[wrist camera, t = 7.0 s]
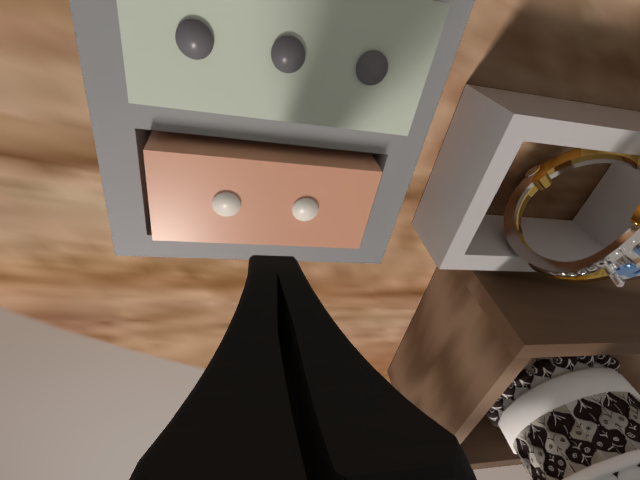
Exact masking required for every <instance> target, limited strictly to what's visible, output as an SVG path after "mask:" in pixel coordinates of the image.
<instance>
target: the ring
mask: <svg viewBox="0 0 640 480" xmlns="http://www.w3.org/2000/svg"><path fill="white" fill-rule="evenodd" d="M597 163H614V164H621V165H626V166H629V167H632V168H634V169H637V170H638V171H640V155H631V154H623V153H615V152H607V151H599V150H591V149H583V148H577V149H574V150H571V151H568V152H566V153H563V154H561V155H559V156H557V157H555V158H553V159H551V160H549V161H547V162H546V163H544V164H542V165H541V166H539V165H537V166H534V167H532V168H531V169H530V170H528V171H527V173H526V174H525V176H526V178H525V179H524V180H523V181H522V182H521V183H520V184H519V185H518V186H517V188H516V189H515V190H514V192H513V193H512V195H511V197H510V199H509V201H508V203H507V206H506V209H505V213H504V231H505V235H506V238H507V241H508V243H509V245H510V246H511V248H512V249H513V250H514V252H515V253H516V254H517V255H518V256H519V257H520V258H521V259H522V260H523V261H524V262H525V263H526V264H527V265H528V266H529V267H530V268H532V269H533V270H534V271H536V272H538V273H539V274H541V275H543V276H546V277H548V278H551V279H554V280H558V281H563V282H572V283H586V282H595V281H601V280H606V279H610V278H611V280H612V281H613V282H614V284H615V285H616V286H617V287H622V286H624V283H625V282H624V280H632V279H637V278H640V202H639V204H638V207H637V208H636V210H635V212H634V214H633V216H632V217H631V219H630V222H633V223H635V224H636V225H633V226H632V227H631V228H629V229H628V230H627V231H626V232H625V233H624V234H623V235H621V236H620V237H619V238H618V239H616V240H615V241H614V242H613V243H611V244H610V245H608V246H607V247H605V248H604V249H602V250H601V251H599V252H597V253H595V254H593V255H591V256H589V257H587V258H584V259H581V260H578V261H572V262H560V261H555V260H551V259H548V258H545V257H543V256H540V255H539V254H537V253H536V252H534V251H533V250H532V249H531V248H530V247H529V246H528V244H527V243H526V241H525V239H524V236H523V233H522V227H521V221H522V215H523V212H524V209H525V207H526V205H527V203H528V202H529V200H530V199H531V197H532V196H533V195H534V194H535V193H536V192H537V191H538V190H539V191H541V190H544V189H546V188H547V187H549V186H550V185H551V184H552V182H553V180H552V179H553V178H554V177H556V176H558V175H560V174H562V173H564V172H566V171H568V170H571V169H574V168H577V167H580V166H584V165H589V164H597Z"/></svg>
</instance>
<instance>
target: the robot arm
mask: <svg viewBox="0 0 640 480" xmlns="http://www.w3.org/2000/svg"><path fill="white" fill-rule="evenodd" d="M129 480H477V479H476V477H475V474H474V472H473V470H472V467H471V465H470V463H469V461H468V458H467V456H466V454H465V452H464V451H463V449H462V447H461V445H460V444H459V442H458V440H457V438H456V436H455V435H453V434H452V433H451V432H449V431H448V430H447V429H445V428H444V427H442V426H441V425H440V424H438V423H437V422H436V421H434V420H433V419H432V418H430V417H429V416H428V415H426V414H425V413H424V412H422V411H421V410H420V409H419V408H417V407H416V406H415V405H414V404H413V403H411V402H410V401H409V400H408V399H407V398H406V397H404V396H403V395H402V394H401V393H400V392H399V391H398V390H396V389H395V388H394V387H393V386H392V385H391V384H390V383H389V382H388V381H387V380H386V379H385V378H384V377H383V376H382V375H381V374H380V373H378V372H377V371H376V370H375V369H374V368H373V367H372V366H371V364H370V363H369V362H368V361H367V360H366V359H365V358H364V357H363V356H362V355H361V354H360V353H359V351H358V350H357V349H356V348H355V347H354V346H353V345H352V343H351V342H350V341H349V340H348V339H347V337H346V336H345V335H344V334H343V332H342V331H341V330H340V329H339V327H338V326H337V325H336V323H335V322H334V321H333V319H332V318H331V316H330V315H329V314H328V312H327V311H326V309H325V308H324V306H323V305H322V303H321V302H320V300H319V299H318V297H317V296H316V294H315V292H314V291H313V289H312V288H311V286H310V284H309V282H308V281H307V279H306V277H305V275H304V274H303V272H302V270H301V268H300V266H299V264H298V262H297V260H296V259H295V258H294V256H268V255H253V256H251V257H250V258H249V267H248V276H247V280H246V283H245V287H244V290H243V293H242V295H241V298H240V301H239V304H238V307H237V309H236V311H235V314H234V316H233V318H232V320H231V323H230V325H229V327H228V329H227V331H226V333H225V335H224V337H223V339H222V341H221V343H220V345H219V347H218V349H217V351H216V352H215V354H214V356H213V358H212V359H211V361H210V363H209V364H208V366H207V368H206V369H205V371H204V373H203V374H202V376H201V378H200V379H199V381H198V382H197V384H196V386H195V387H194V389H193V390H192V391H191V393H190V394H189V396H188V397H187V399H186V400H185V401H184V403H183V404H182V406H181V407H180V408H179V410H178V411H177V413H176V414H175V416H174V417H173V419H172V420H171V421H170V422H169V424H168V425H167V426H166V428H165V429H164V430H163V432H162V433H161V434H160V435H159V436H158V438H157V439H156V440H155V442H154V443H153V444H152V445H151V447H150V448H149V449H148V450H147V452H146V453H145V454H144V455H143V457H142V458H141V459H140V460H139V462H138V463H137V465H136V467H135V469H134V471H133V473H132V475H131V477H130V479H129Z"/></svg>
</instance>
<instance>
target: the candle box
mask: <svg viewBox="0 0 640 480" xmlns="http://www.w3.org/2000/svg"><path fill="white" fill-rule="evenodd" d="M624 282H625V283H624V286H622V287H617V286H616V285H615V284H614V282H613V281H612V280H611V278H610V279H606V280H601V281H595V282H586V283H572V282H563V281H558V280H554V279H551V278H548V277H546V276H543V275H541V274H539V273H538V272H522V271H487V270H451V269H439V268H438V267H437V268H436V271H435V273H434V275H433V277H432V279H431V281H430V283H429V285H428V287H427V289H426V292H425V294H424V296H423V298H422V300H421V302H420V304H419V306H418V308H417V310H416V313H415V315H414V317H413V319H412V321H411V323H410V325H409V327H408V329H407V331H406V333H405V336H404V338H403V340H402V342H401V344H400V346H399V348H398V350H397V352H396V354H395V357H394V359H393V361H392V363H391V365H390V367H389V369H388V371H387V372H388V375H389V378H390V381H391V384H392V386H393V387H394V388H395V389H396V390H398V391H399V392H400V393H401V394H402V395H403V396H404V397H406V398H407V399H408V400H409V401H410V402H411V403H413V404H414V405H415V406H416V407H417V408H419V409H420V410H421V411H422V412H424V413H425V414H426V415H428V416H429V417H430V418H432V419H433V420H434V421H436V422H437V423H438V424H440V425H441V426H442V427H444V428H445V429H447V430H448V431H449V432H451V433H452V434H453V435H455V436H456V438H457V440H458V442H459V444H460V445H461V447H462V449H463V451H464V452H465V454H466V456H467V458H468V461H469V463H470V465H471V467H472V470H473V469H483V468H492V467H501V466H510V465H518V464H522V462H521V461H520V459H519V457H518V455H517V454H514V453H513V451H512V449H511V448H510V446H509V444H508V442H507V440H506V438H505V436H504V434H503V433H502V431H501V429H500V427H499V426H494V425H493V424H492V423H491V422H490V418H488V417H487V415H486V413H487V412H488V410H489V409H490V408H491V407H492V406H493V404H494V403H495V402H496V401H497V400H498V398H499V397H500V396H501V395H502V394H503V392H504V391H505V390H506V389H507V388H508V386H509V385H510V384H511V383H512V381H513V380H514V379H515V378H516V377H517V375H518V374H519V373H520V372H521V371H522V369H523V368H524V367H525V366H526V365H527V363H528V362H529V361H530V360H531V359H532V358H538V357H566V356H595V355H611V357H614V358H616V359H617V360H618V361H619V363H620V366H619V369H618V371H619V373H620V374H621V375H623V377H624V378H625V379H626V380H627V381H628V382H629V383H630V384H631V386H632V387H633V388H634V389H635V390H636V391H637V392H638V393H639V395H640V278H637V279H632V280H624Z"/></svg>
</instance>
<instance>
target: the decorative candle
mask: <svg viewBox="0 0 640 480" xmlns="http://www.w3.org/2000/svg"><path fill="white" fill-rule="evenodd" d="M619 366H620V363H619V361H618V360H617V359H616V358H614V357H611V355H595V356H566V357H538V358H532V359H531V360H530V361H529V362H528V363H527V365H526V366H525V367H524V368H523V369H522V371H521V372H520V373H519V374H518V375H517V377H516V378H515V379H514V380H513V381H512V383H511V384H510V385H509V386H508V388H507V389H506V390H505V391H504V392H503V394H502V395H501V396H500V397H499V398H498V400H497V401H496V402H495V403H494V404H493V406H492V407H491V408H490V409H489V410H488V412H487V413H486V415H487V417H488V418H490V422H491V423H492V424H493V425H494V426H499V427H500V429H501V431H502V433H503V434H504V436H505V438H506V440H507V442H508V444H509V446H510V448H511V449H512V451H513V453H514V454H517V455H518V457H519V459H520V461H521V462H522V464H523V466H524V468H525V470H526V472H527V473H528V475H529V477H530V479H531V480H640V395H639V393H638V392H637V391H636V390H635V389H634V388H633V387H632V386H631V384H630V383H629V382H628V381H627V380H626V379H625V378H624V377H623V375H621V374H620V373H619V371H618V369H619Z"/></svg>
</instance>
